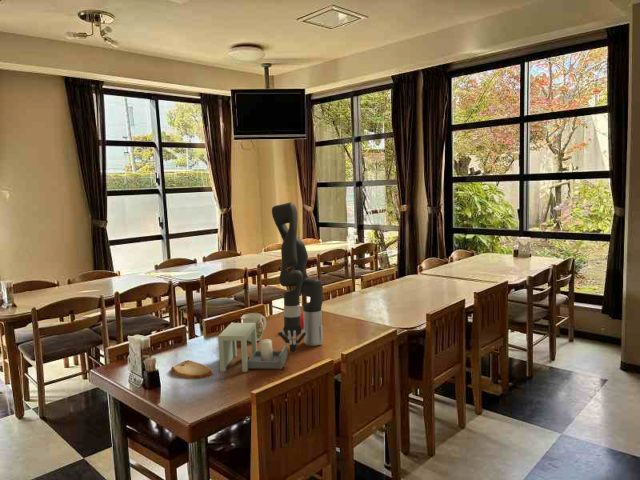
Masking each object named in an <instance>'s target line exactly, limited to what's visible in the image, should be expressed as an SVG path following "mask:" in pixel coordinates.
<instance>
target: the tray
mask: <svg viewBox="0 0 640 480" xmlns="http://www.w3.org/2000/svg"><path fill="white" fill-rule="evenodd" d="M287 358H288V343H285V344H284V345H283V347H282V348H281V350H273V361H262V360H261V350H257V351H254V352H253V354H252V353H251V356H250V357H248V369H279V370H282V369H283V367H284V365H285V362H286V361H287Z"/></svg>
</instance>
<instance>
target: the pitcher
mask: <svg viewBox="0 0 640 480" xmlns="http://www.w3.org/2000/svg"><path fill="white" fill-rule="evenodd" d="M240 319H241V320H242V323H256V338H257V342H260V341H261V339H262V337H263V333H264V331H265V329H266V327H267V320H266V317H265V316H264V315H263V314H262V313H259V312H251V313H245V314H243V315H241V317H240ZM246 340H247V342H250V343H252V342H251V334H250V335H249V336H248V338H247V339H246Z"/></svg>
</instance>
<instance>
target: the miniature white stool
mask: <svg viewBox="0 0 640 480" xmlns="http://www.w3.org/2000/svg"><path fill="white" fill-rule="evenodd" d="M250 334H251V342H250V343H251V355H252V354H253V352H254V351H258V343H257V342H258V341H257V338H256V323H243V322H230V323H229V324H228V326H226V327H225V328H224V330H223V331H222V332H220V333H219V334H218V336H217V340H218V355H219V358H218V360H219V371H220V372H225V371H227V366H228V365H229V363H230V362H231V361H232V360H233V359H234V358H236V357H237V356H238V350H237V348H238V347H237V342H238V341H240V349H241V350H240V351H241V368H242V369H241V370H242V373H243V372H244V373H245V372H248V371H249V368H248V360H249V358H248V347H247V346H248V343H247V342H248V341H247V340H246V339H247V338H248V336H249V335H250Z"/></svg>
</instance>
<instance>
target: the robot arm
mask: <svg viewBox="0 0 640 480" xmlns="http://www.w3.org/2000/svg"><path fill="white" fill-rule="evenodd" d="M271 215H272V216H271V217H272V219H273V221H274V223H275V226H276V228H277V230H278V232H279V235H280V237H281V239H282V244H281V246H280V247H281V248H280V251H281V252H280V254H281V269H280V273H279V276H278V283H279V284H280V285H281V286H282V287H283V288H284V287H294V288H293V289H291V290H288V291H285V292H284V293H283V304H284V306H283V328H282V330H280V331H279V332H278V335H279V336H280V337H281V339H282V340H283V341H284V343H285V344H289V351H290V352H291V353H296V352H297V348H298V347H297V346H298V345H297V344H300V343H301V341H302V340H303V342H304V344H305V345H306V346H310V347H312V346H321V345H323V342H324V334H323V332H324V331H323V330H324V329H323V327H324V326H323V319H322V317H323V315H322V306H323V295H324V294H323V283H322V281H321V280H320V279H319V278H318V279H316V278H310V277H309V276H308V273H307V269H306V267H307V263H308V260H309V255H308V250H307V248H306V246H305V243H304V242H303V240H302V239H300V237H298V235H297V234H298V218H299V217H298V210H297V206H296V205H295V203H293V202H285V203H282V204H278V205H274V206H273V207H272V208H271ZM286 224H289V226H287V225H286ZM291 267H292V270H290V268H291ZM288 269H289V270H288ZM300 295H301V296H303V297H307V298H309V302H306V303H304V304H303V305H302V306H303V309H302V311H303V313H301V306H300V305H301V304H300V300H301V299H300V297H301V296H300ZM301 314H303V318H304V329H303V330H302V327H301ZM299 335H300V337H299ZM298 337H299V338H298Z"/></svg>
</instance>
